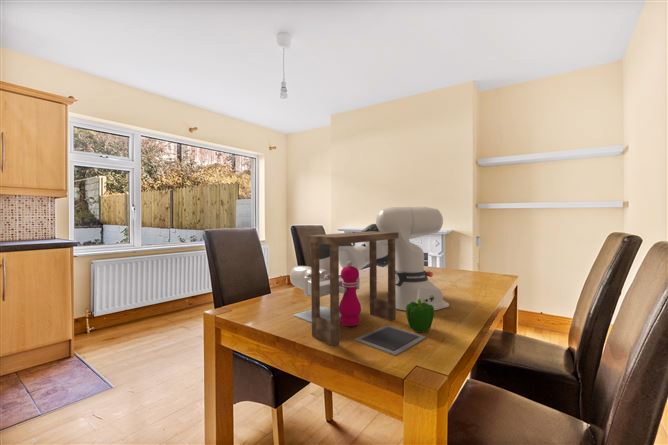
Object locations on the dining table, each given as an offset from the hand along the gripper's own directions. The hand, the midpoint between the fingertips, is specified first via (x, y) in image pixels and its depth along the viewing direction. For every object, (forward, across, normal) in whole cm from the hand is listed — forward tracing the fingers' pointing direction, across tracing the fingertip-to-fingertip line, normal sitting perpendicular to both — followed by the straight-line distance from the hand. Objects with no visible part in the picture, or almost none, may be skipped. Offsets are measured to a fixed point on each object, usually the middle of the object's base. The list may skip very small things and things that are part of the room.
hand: (351, 288), depth 98 cm
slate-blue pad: (-15, 0, -12) cm, 20 cm away
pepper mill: (-1, 0, -12) cm, 12 cm away
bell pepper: (+17, -13, -12) cm, 25 cm away
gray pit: (+15, 0, -12) cm, 19 cm away
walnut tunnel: (+2, 0, -12) cm, 12 cm away
